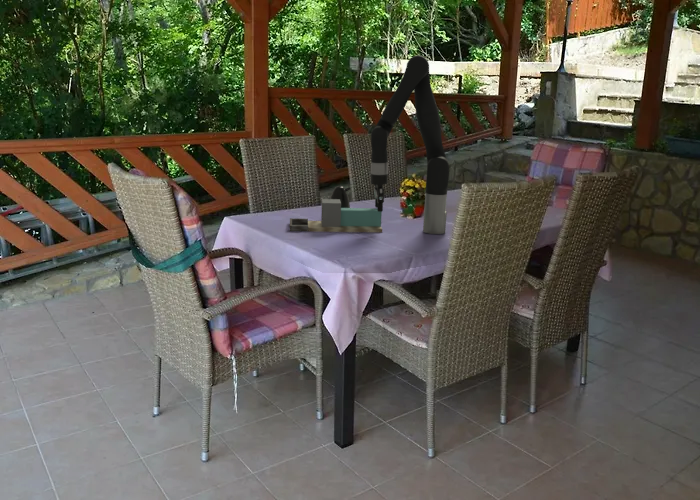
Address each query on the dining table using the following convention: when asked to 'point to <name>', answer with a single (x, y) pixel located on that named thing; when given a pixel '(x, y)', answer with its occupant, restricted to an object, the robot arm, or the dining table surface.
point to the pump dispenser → (341, 196)
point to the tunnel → (331, 213)
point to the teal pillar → (360, 217)
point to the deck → (317, 227)
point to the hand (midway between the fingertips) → (378, 209)
